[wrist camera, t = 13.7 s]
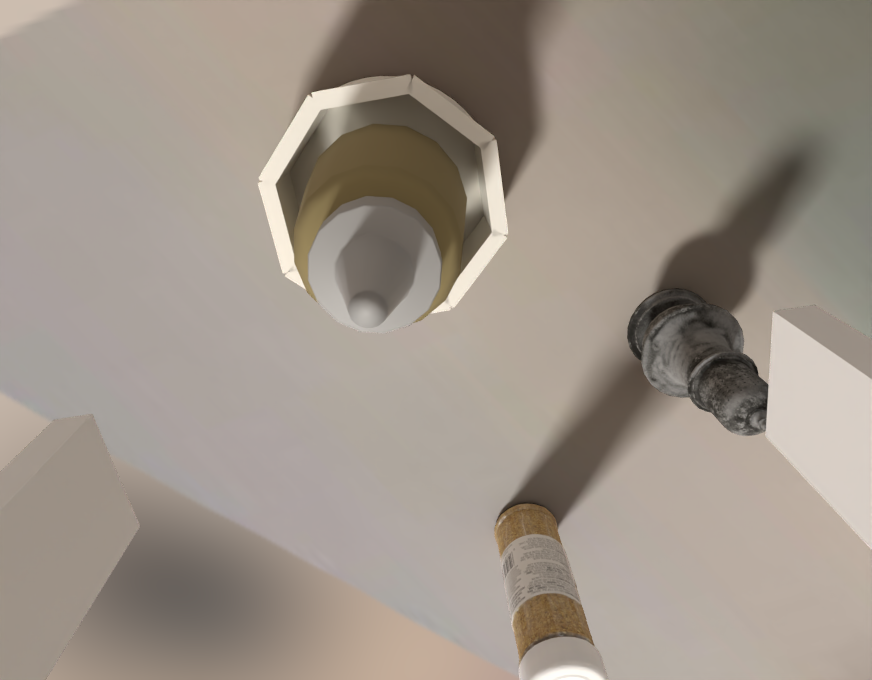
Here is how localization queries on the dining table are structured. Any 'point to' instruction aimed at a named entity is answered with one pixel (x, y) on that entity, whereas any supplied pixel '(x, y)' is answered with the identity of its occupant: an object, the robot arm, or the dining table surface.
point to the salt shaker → (699, 358)
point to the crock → (389, 105)
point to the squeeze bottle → (381, 228)
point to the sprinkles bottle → (544, 599)
